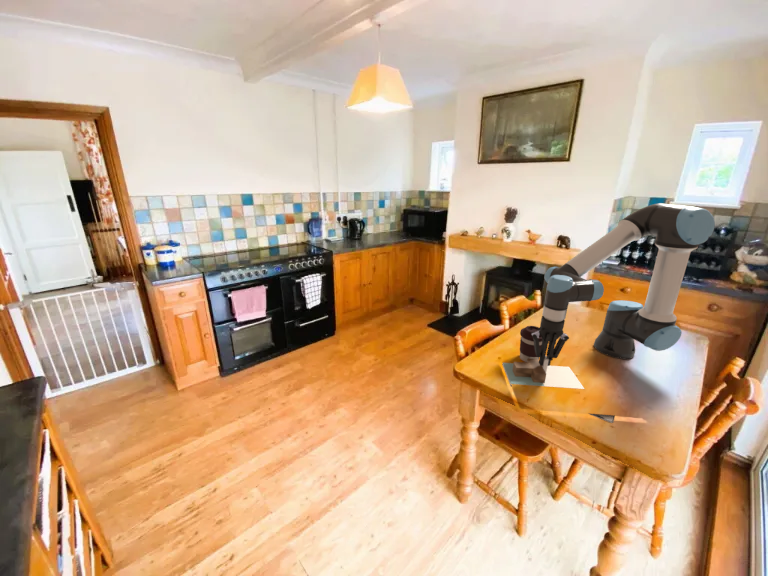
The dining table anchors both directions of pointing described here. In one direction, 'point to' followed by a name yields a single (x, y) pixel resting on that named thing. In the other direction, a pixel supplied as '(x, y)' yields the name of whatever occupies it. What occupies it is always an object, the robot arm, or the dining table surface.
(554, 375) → the board
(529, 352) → the coffee cup
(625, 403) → the dining table surface
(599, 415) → the smartphone
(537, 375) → the t block
